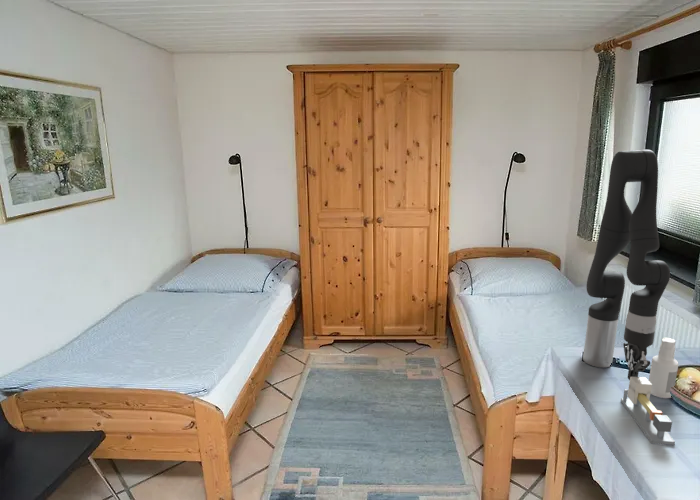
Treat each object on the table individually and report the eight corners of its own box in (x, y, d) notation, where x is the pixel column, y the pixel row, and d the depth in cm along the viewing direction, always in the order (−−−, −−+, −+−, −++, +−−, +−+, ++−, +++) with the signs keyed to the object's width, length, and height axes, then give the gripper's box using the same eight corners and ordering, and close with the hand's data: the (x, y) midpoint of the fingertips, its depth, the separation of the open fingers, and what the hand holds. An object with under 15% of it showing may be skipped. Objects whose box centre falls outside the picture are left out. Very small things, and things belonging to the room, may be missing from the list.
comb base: (620, 401, 148) (622, 387, 147) (640, 402, 147) (642, 388, 146) (651, 443, 129) (654, 428, 128) (674, 445, 128) (677, 430, 127)
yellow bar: (629, 394, 145) (631, 385, 144) (640, 395, 145) (641, 386, 144) (658, 431, 128) (659, 421, 127) (670, 432, 128) (672, 422, 127)
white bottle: (676, 399, 148) (686, 345, 143) (652, 397, 149) (661, 344, 145) (667, 387, 155) (676, 335, 150) (643, 386, 156) (652, 334, 151)
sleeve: (627, 396, 145) (630, 376, 143) (642, 396, 145) (645, 377, 143) (633, 403, 141) (636, 383, 140) (648, 404, 141) (652, 384, 139)
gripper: (617, 317, 149) (610, 368, 153) (636, 335, 136) (628, 391, 141) (643, 318, 148) (635, 369, 152) (665, 336, 135) (656, 392, 140)
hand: (632, 380), depth 147 cm, fingers closed
